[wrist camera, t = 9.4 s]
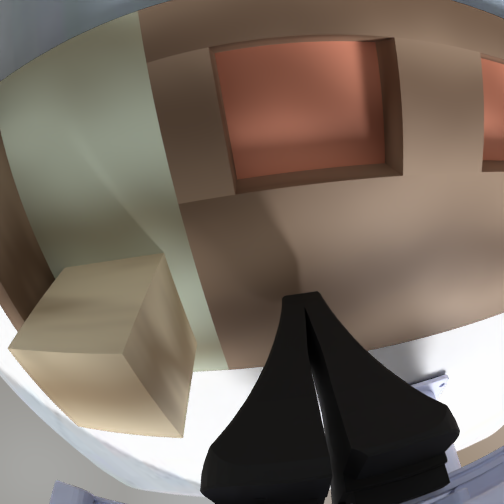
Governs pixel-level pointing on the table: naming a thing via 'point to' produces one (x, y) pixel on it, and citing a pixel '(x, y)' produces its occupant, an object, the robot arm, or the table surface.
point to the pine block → (113, 347)
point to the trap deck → (267, 165)
